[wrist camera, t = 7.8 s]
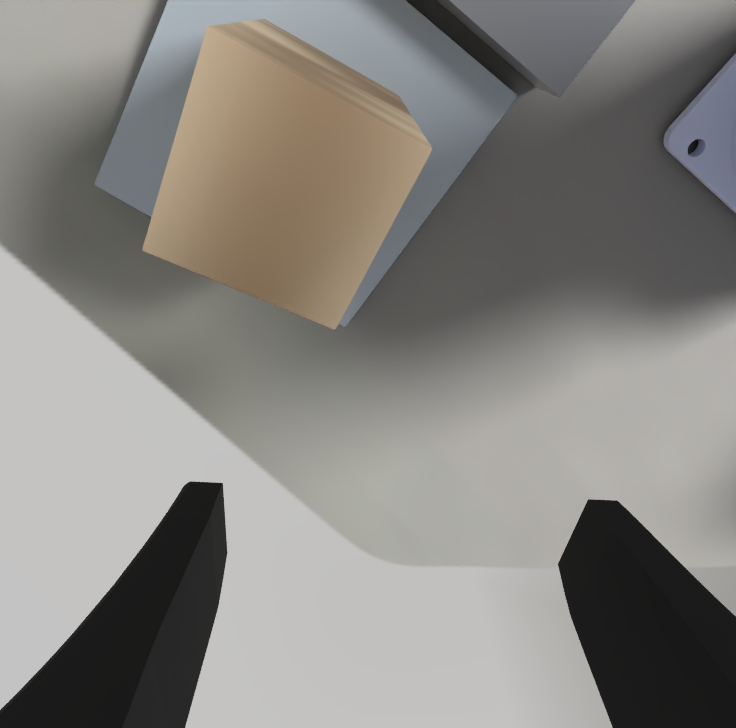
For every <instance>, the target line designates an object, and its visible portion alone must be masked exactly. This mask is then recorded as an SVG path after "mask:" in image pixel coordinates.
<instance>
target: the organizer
mask: <svg viewBox="0 0 736 728" xmlns="http://www.w3.org/2000/svg"><path fill="white" fill-rule="evenodd" d="M436 1H437V2H439V3H440V4H441V5H442V6H443V7H444V8H445V9H447V10H448V11H449V12H450V13H451V14H452V15H453V16H455V17H456V18H457V19H458V20H459V21H460V22H462V23H463V24H464V25H465V26H466V27H467V28H468V29H470V30H471V31H472V32H473V33H474V34H475V35H476V36H478V37H479V38H480V39H481V40H482V41H483V42H485V43H486V44H487V45H488V46H489V47H490V48H491V49H493V50H494V51H495V52H496V53H497V54H498V55H499V56H501V57H502V58H503V59H504V60H505V61H506V62H508V63H509V64H510V65H511V66H512V67H513V68H514V69H516V70H517V71H518V72H519V73H520V74H521V75H522V76H524V77H525V78H526V79H527V80H528V81H529V82H530V83H532V84H533V85H534V86H535V87H536V88H538V89H541V90H543V91H545V92H548V93H550V94H553V95H555V96H558V97H560V96H561V95H562V94H563V92H564V91H565V90H566V88H567V87H568V86H569V85H570V83H571V82H572V81H573V80H574V78H575V77H576V76H577V74H578V73H579V72H580V71H581V69H582V68H583V67H584V65H585V64H586V63H587V62H588V60H589V59H590V58H591V57H592V55H593V54H594V53H595V51H596V50H597V49H598V48H599V46H600V45H601V44H602V43H603V41H604V40H605V39H606V37H607V36H608V35H609V34H610V32H611V31H612V30H613V28H614V27H615V26H616V25H617V23H618V22H619V21H620V20H621V18H622V17H623V16H624V14H625V13H626V12H627V11H628V9H629V8H630V7H631V6H632V4H633V3H634V2H635V0H436Z"/></svg>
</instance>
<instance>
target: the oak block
mask: <svg viewBox="0 0 736 728" xmlns="http://www.w3.org/2000/svg"><path fill="white" fill-rule="evenodd" d="M431 151H432V147H431V145H430V144H429V142H428V141H427V139H426V138H425V136H424V134H423V133H422V131H421V130H420V128H419V126H418V125H417V123H416V122H415V120H414V119H413V117H412V115H411V114H410V112H409V111H408V109H407V107H406V106H405V104H404V103H403V101H402V99H401V98H400V96H399V95H398V94H396V93H394V92H393V91H391V90H389V89H387V88H386V87H384V86H382V85H380V84H379V83H377V82H375V81H373V80H372V79H370V78H368V77H366V76H364V75H363V74H361V73H359V72H357V71H356V70H354V69H352V68H350V67H349V66H347V65H345V64H343V63H341V62H340V61H338V60H336V59H334V58H333V57H331V56H329V55H327V54H326V53H324V52H322V51H320V50H319V49H317V48H315V47H313V46H311V45H310V44H308V43H306V42H304V41H303V40H301V39H299V38H297V37H296V36H294V35H292V34H290V33H288V32H287V31H285V30H283V29H281V28H280V27H278V26H276V25H274V24H273V23H271V22H269V21H267V20H265V19H258V20H251V21H243V22H235V23H227V24H220V25H212V26H207V29H206V32H205V36H204V39H203V43H202V46H201V49H200V53H199V56H198V60H197V63H196V67H195V70H194V73H193V77H192V80H191V84H190V87H189V91H188V94H187V97H186V101H185V104H184V108H183V111H182V115H181V118H180V121H179V125H178V128H177V132H176V135H175V139H174V142H173V145H172V149H171V152H170V156H169V159H168V163H167V166H166V169H165V173H164V176H163V180H162V183H161V187H160V190H159V193H158V197H157V200H156V204H155V207H154V210H153V214H152V217H151V221H150V224H149V228H148V231H147V234H146V238H145V241H144V245H143V248H142V251H144V252H147V253H149V254H152V255H154V256H156V257H159V258H161V259H164V260H166V261H169V262H171V263H173V264H176V265H178V266H181V267H183V268H186V269H188V270H190V271H193V272H195V273H198V274H200V275H203V276H205V277H207V278H210V279H212V280H215V281H217V282H219V283H222V284H224V285H227V286H229V287H232V288H234V289H236V290H239V291H241V292H244V293H246V294H249V295H251V296H253V297H256V298H258V299H261V300H263V301H266V302H268V303H270V304H273V305H275V306H278V307H280V308H282V309H285V310H287V311H290V312H292V313H295V314H297V315H299V316H302V317H304V318H307V319H309V320H312V321H314V322H316V323H319V324H321V325H324V326H326V327H329V328H331V329H333V330H336V328H337V326H338V324H339V322H340V321H341V319H342V317H343V315H344V313H345V311H346V309H347V307H348V306H349V304H350V302H351V300H352V298H353V296H354V294H355V293H356V291H357V289H358V287H359V285H360V283H361V281H362V280H363V278H364V276H365V274H366V272H367V270H368V268H369V267H370V265H371V263H372V261H373V259H374V257H375V255H376V254H377V252H378V250H379V248H380V246H381V244H382V242H383V241H384V239H385V237H386V235H387V233H388V231H389V229H390V227H391V226H392V224H393V222H394V220H395V218H396V216H397V214H398V213H399V211H400V209H401V207H402V205H403V203H404V201H405V200H406V198H407V196H408V194H409V192H410V190H411V188H412V187H413V185H414V183H415V181H416V179H417V177H418V175H419V174H420V172H421V170H422V168H423V166H424V164H425V162H426V161H427V159H428V157H429V155H430V153H431Z"/></svg>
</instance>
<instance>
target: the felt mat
mask: <svg viewBox="0 0 736 728" xmlns="http://www.w3.org/2000/svg"><path fill="white" fill-rule="evenodd" d="M258 19H265V20H267V21H269V22H271V23H273V24H274V25H276V26H278V27H280V28H281V29H283V30H285V31H287V32H288V33H290V34H292V35H294V36H296V37H297V38H299V39H301V40H303V41H304V42H306V43H308V44H310V45H311V46H313V47H315V48H317V49H319V50H320V51H322V52H324V53H326V54H327V55H329V56H331V57H333V58H334V59H336V60H338V61H340V62H341V63H343V64H345V65H347V66H349V67H350V68H352V69H354V70H356V71H357V72H359V73H361V74H363V75H364V76H366V77H368V78H370V79H372V80H373V81H375V82H377V83H379V84H380V85H382V86H384V87H386V88H387V89H389V90H391V91H393V92H394V93H396V94H398V95H399V96H400V98H401V99H402V101H403V103H404V104H405V106H406V107H407V109H408V111H409V112H410V114H411V115H412V117H413V119H414V120H415V122H416V123H417V125H418V126H419V128H420V130H421V131H422V133H423V134H424V136H425V138H426V139H427V141H428V142H429V144H430V145H431V147H432V151H431V153H430V155H429V157H428V159H427V161H426V162H425V164H424V166H423V168H422V170H421V172H420V174H419V175H418V177H417V179H416V181H415V183H414V185H413V187H412V188H411V190H410V192H409V194H408V196H407V198H406V200H405V201H404V203H403V205H402V207H401V209H400V211H399V213H398V214H397V216H396V218H395V220H394V222H393V224H392V226H391V227H390V229H389V231H388V233H387V235H386V237H385V239H384V241H383V242H382V244H381V246H380V248H379V250H378V252H377V254H376V255H375V257H374V259H373V261H372V263H371V265H370V267H369V268H368V270H367V272H366V274H365V276H364V278H363V280H362V281H361V283H360V285H359V287H358V289H357V291H356V293H355V294H354V296H353V298H352V300H351V302H350V304H349V306H348V307H347V309H346V311H345V313H344V315H343V317H342V319H341V321H340V322H339V324H340V325H342V326H344V327H346V326H347V324H348V323H349V321H350V320H351V319H352V317H353V316H354V315H355V313H356V312H357V311H358V309H359V308H360V307H361V305H362V304H363V303H364V301H365V300H366V299H367V297H368V296H369V295H370V293H371V292H372V291H373V289H374V288H375V287H376V285H377V284H378V283H379V281H380V280H381V279H382V277H383V276H384V275H385V273H386V272H387V271H388V269H389V268H390V267H391V265H392V264H393V263H394V261H395V260H396V259H397V257H398V256H399V254H400V253H401V252H402V250H403V249H404V248H405V246H406V245H407V244H408V242H409V241H410V240H411V238H412V237H413V236H414V234H415V233H416V232H417V230H418V229H419V228H420V226H421V225H422V224H423V222H424V221H425V220H426V218H427V217H428V216H429V214H430V213H431V212H432V210H433V209H434V208H435V206H436V205H437V204H438V202H439V201H440V200H441V198H442V197H443V196H444V194H445V193H446V192H447V190H448V189H449V187H450V186H451V185H452V183H453V182H454V181H455V179H456V178H457V177H458V175H459V174H460V173H461V171H462V170H463V169H464V167H465V166H466V165H467V163H468V162H469V161H470V159H471V158H472V157H473V155H474V154H475V153H476V151H477V150H478V149H479V147H480V146H481V145H482V143H483V142H484V141H485V139H486V138H487V137H488V135H489V134H490V133H491V131H492V130H493V129H494V127H495V126H496V125H497V123H498V122H499V120H500V119H501V118H502V116H503V115H504V114H505V112H506V111H507V110H508V108H509V107H510V106H511V104H512V103H513V102H514V100H515V99H516V98H517V96H518V95H516V94H515V93H514V92H513V91H512V90H511V89H509V88H508V87H507V86H506V85H505V84H504V83H502V82H501V81H500V80H499V79H498V78H496V77H495V76H494V75H493V74H492V73H491V72H489V71H488V70H487V69H486V68H485V67H484V66H482V65H481V64H480V63H479V62H478V61H476V60H475V59H474V58H473V57H472V56H471V55H469V54H468V53H467V52H466V51H465V50H464V49H462V48H461V47H460V46H459V45H458V44H456V43H455V42H454V41H453V40H452V39H451V38H449V37H448V36H447V35H446V34H445V33H444V32H442V31H441V30H440V29H439V28H438V27H436V26H435V25H434V24H433V23H432V22H431V21H429V20H428V19H427V18H426V17H425V16H423V15H422V14H421V13H420V12H419V11H418V10H416V9H415V8H414V7H413V6H412V5H411V4H409V3H408V2H407V1H406V0H168V2H167V4H166V7H165V9H164V12H163V14H162V17H161V19H160V21H159V24H158V26H157V29H156V31H155V34H154V36H153V39H152V41H151V44H150V46H149V49H148V51H147V54H146V56H145V59H144V61H143V64H142V66H141V69H140V71H139V74H138V76H137V79H136V81H135V84H134V86H133V89H132V91H131V94H130V96H129V99H128V101H127V103H126V106H125V108H124V111H123V113H122V116H121V118H120V121H119V123H118V126H117V128H116V131H115V133H114V136H113V138H112V141H111V143H110V146H109V148H108V151H107V153H106V156H105V158H104V161H103V163H102V166H101V168H100V171H99V173H98V176H97V178H96V180H95V183H94V185H95V186H97V187H99V188H100V189H102V190H104V191H106V192H107V193H109V194H111V195H113V196H114V197H116V198H118V199H120V200H122V201H123V202H125V203H127V204H129V205H130V206H132V207H134V208H136V209H137V210H139V211H141V212H143V213H144V214H146V215H148V216H150V217H152V214H153V210H154V207H155V204H156V200H157V197H158V193H159V190H160V187H161V183H162V180H163V176H164V173H165V169H166V166H167V163H168V159H169V156H170V152H171V149H172V145H173V142H174V139H175V135H176V132H177V128H178V125H179V121H180V118H181V115H182V111H183V108H184V104H185V101H186V97H187V94H188V91H189V87H190V84H191V80H192V77H193V73H194V70H195V67H196V63H197V60H198V56H199V53H200V49H201V46H202V43H203V39H204V36H205V32H206V29H207V26H212V25H220V24H227V23H235V22H243V21H251V20H258Z"/></svg>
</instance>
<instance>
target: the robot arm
mask: <svg viewBox="0 0 736 728" xmlns="http://www.w3.org/2000/svg"><path fill="white" fill-rule="evenodd" d="M696 139H698V141H699V142H698V147H697V148H696V150H695V151H694V152H692V153H691V154H688V147H689V145H690V144H691V142H693V141H694V140H696ZM663 141H664V146H665V148H666V150H667V151H668V152H669V153H670V154H671V155H673V156H674V157H675V158H676V159H677V160H678V161H679V162H680V163H681V164H682V165H683V166H685V167H686V168H687V169H688V170H689V171H690V172H691V173H692V174H693V175H694V176H695V177H696V178H698V179H699V180H700V181H701V182H702V183H703V184H704V185H705V186H706V187H707V188H708V189H710V190H711V191H712V192H713V193H714V194H715V195H716V196H717V197H718V198H719V199H720V200H721V201H723V202H724V203H725V204H726V205H727V206H728V207H729V208H730V209H731V210H732V211H733V212H735V213H736V53H735V54H734V56H733V57H732V58H731V59H730V60H729V61H728V62H727V63H726V64H725V65H724V67H723V68H722V69H721V70H720V71H719V72H718V73H717V74H716V75H715V77H714V78H713V79H712V80H711V81H710V82H709V83H708V84H707V85H706V86H705V88H704V89H703V90H702V91H701V92H700V93H699V94H698V95H697V96H696V98H695V99H694V100H693V101H692V102H691V103H690V104H689V105H688V106H687V107H686V109H685V110H684V111H683V112H682V113H681V114H680V115H679V116H678V117H677V119H676V120H675V121H674V122H673V123H672V124H671V125H670V126H669V128H668V129H667V131H666V132H665V136H664V139H663ZM226 557H227V543H226V528H225V512H224V497H223V483H208V482H189V483H187V484H186V485H185V486H184V487H183V488H182V490H181V492H180V493H179V495H178V497H177V498H176V500H175V501H174V503H173V504H172V506H171V507H170V509H169V511H168V512H167V513H166V515H165V516H164V518H163V519H162V521H161V522H160V524H159V525H158V527H157V528H156V529H155V531H154V532H153V534H152V535H151V536H150V538H149V539H148V540H147V542H146V543H145V545H144V546H143V548H142V549H141V550H140V551H139V553H138V554H137V555H136V557H135V558H134V559H133V560H132V562H131V563H130V564H129V566H128V567H127V568H126V570H125V571H124V572H123V573H122V575H121V576H120V577H119V579H118V580H117V581H116V583H115V584H114V585H113V586H112V588H111V589H110V590H109V591H108V592H107V594H106V595H105V596H104V597H103V598H102V600H101V601H100V602H99V603H98V604H97V606H96V607H95V608H94V609H93V610H92V611H91V613H90V614H89V615H88V616H87V617H86V619H85V620H84V621H83V622H82V623H81V625H80V626H79V627H78V628H77V629H76V630H75V632H74V633H73V634H72V635H71V636H70V637H69V639H67V641H66V642H65V643H64V644H63V645H62V646H61V647H60V649H59V650H58V651H57V652H56V653H55V654H54V655H53V656H52V657H51V658H50V659H49V661H48V662H47V663H46V664H45V665H44V666H43V667H42V668H41V669H40V670H39V671H38V672H37V673H36V674H35V675H34V676H33V677H32V678H31V679H30V680H29V682H28V683H27V684H26V685H25V686H24V687H23V688H22V689H21V690H20V691H19V692H18V693H17V694H16V695H15V696H14V697H13V698H12V699H11V700H10V701H9V702H8V703H7V704H6V705H5V706H4V707H3V708H2V709H1V710H0V728H185V725H186V721H187V718H188V714H189V711H190V707H191V704H192V700H193V696H194V693H195V689H196V686H197V682H198V678H199V675H200V671H201V667H202V664H203V660H204V657H205V653H206V649H207V646H208V642H209V638H210V635H211V631H212V627H213V623H214V620H215V616H216V613H217V608H218V604H219V599H220V593H221V587H222V581H223V575H224V569H225V563H226ZM558 566H559V570H560V574H561V579H562V583H563V588H564V592H565V596H566V600H567V603H568V607H569V611H570V615H571V618H572V620H573V623H574V626H575V629H576V631H577V634H578V637H579V640H580V642H581V645H582V648H583V650H584V653H585V656H586V658H587V661H588V664H589V666H590V669H591V672H592V674H593V677H594V679H595V682H596V685H597V687H598V690H599V692H600V695H601V698H602V700H603V703H604V706H605V708H606V710H607V713H608V716H609V719H610V721H611V724H612V727H613V728H736V617H735V616H734V615H733V614H732V613H731V612H730V611H729V610H728V609H727V608H726V607H725V606H724V605H723V604H722V603H720V602H719V601H718V600H717V599H716V598H715V597H714V596H713V595H712V594H711V593H710V592H709V591H708V590H707V589H706V588H705V587H704V586H703V585H702V584H701V583H700V582H699V581H698V580H697V579H696V578H695V577H694V576H693V575H692V574H691V573H690V572H689V571H688V570H687V569H686V568H685V567H684V566H683V565H682V564H681V563H680V562H679V561H678V560H677V559H676V558H675V557H674V556H673V555H672V554H671V553H670V552H669V551H668V550H667V549H666V548H665V547H664V546H663V545H662V544H661V543H660V542H659V541H658V540H657V539H656V538H655V537H654V536H653V535H652V534H651V533H650V532H649V531H648V530H647V529H646V528H645V527H644V526H643V525H642V524H641V523H640V522H639V521H638V520H637V519H636V518H635V517H634V516H633V515H632V514H631V513H630V512H629V511H628V510H627V509H626V508H625V507H623V506H622V505H621V504H620V503H619V502H618V501H611V500H588V501H587V503H586V505H585V508H584V510H583V512H582V514H581V516H580V518H579V520H578V523H577V525H576V527H575V529H574V531H573V533H572V535H571V538H570V540H569V542H568V544H567V546H566V548H565V550H564V553H563V555H562V557H561V559H560V561H559V563H558Z"/></svg>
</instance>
